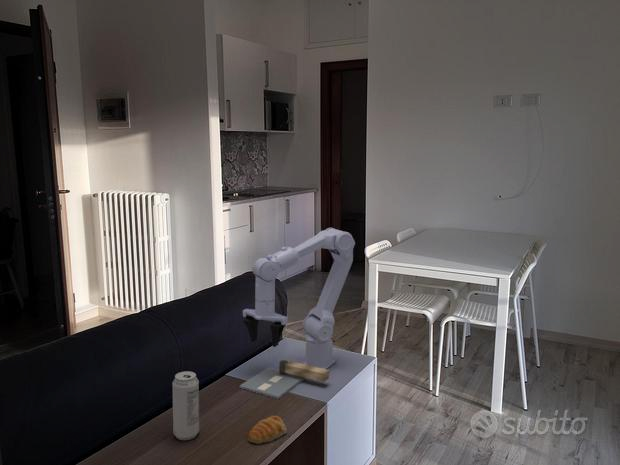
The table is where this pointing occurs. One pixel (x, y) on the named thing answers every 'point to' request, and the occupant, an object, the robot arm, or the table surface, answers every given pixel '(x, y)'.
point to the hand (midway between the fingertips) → (264, 343)
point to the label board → (272, 383)
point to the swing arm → (303, 370)
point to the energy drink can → (185, 405)
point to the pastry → (267, 430)
